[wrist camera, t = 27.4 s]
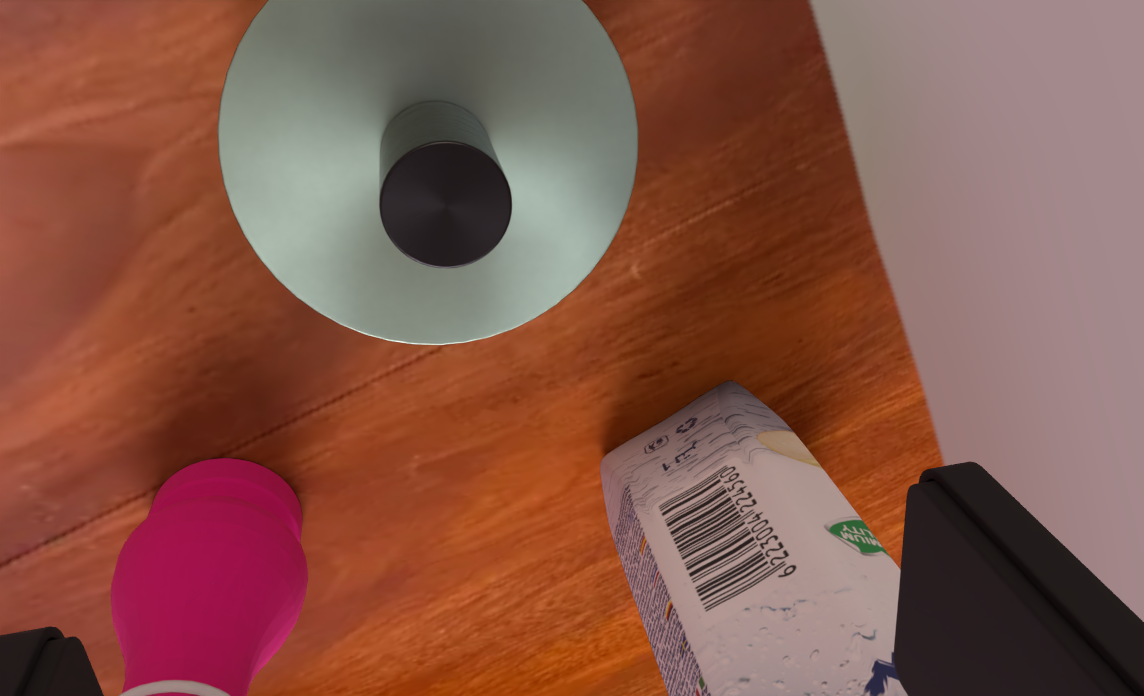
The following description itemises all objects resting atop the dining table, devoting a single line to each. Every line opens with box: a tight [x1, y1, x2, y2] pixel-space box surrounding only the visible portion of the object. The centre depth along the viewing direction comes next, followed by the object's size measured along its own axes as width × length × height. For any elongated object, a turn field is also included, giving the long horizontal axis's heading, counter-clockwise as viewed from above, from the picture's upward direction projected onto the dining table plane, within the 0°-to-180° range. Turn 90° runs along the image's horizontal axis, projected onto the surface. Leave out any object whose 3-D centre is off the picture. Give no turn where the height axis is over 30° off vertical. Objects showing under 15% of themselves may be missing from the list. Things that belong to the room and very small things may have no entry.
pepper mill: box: [111, 458, 308, 696], centre depth 33 cm, size 7×7×20 cm
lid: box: [217, 0, 638, 345], centre depth 29 cm, size 13×13×7 cm
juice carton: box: [600, 381, 908, 696], centre depth 33 cm, size 9×10×27 cm
